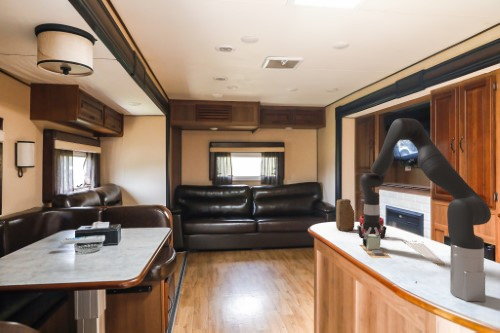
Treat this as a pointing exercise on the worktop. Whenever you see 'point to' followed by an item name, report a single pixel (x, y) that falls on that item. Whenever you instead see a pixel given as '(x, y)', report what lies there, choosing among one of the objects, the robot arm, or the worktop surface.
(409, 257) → the worktop surface
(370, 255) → the oak board
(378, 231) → the plant pot
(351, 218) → the block
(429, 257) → the baseboard
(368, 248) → the block
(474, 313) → the worktop surface
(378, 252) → the gray square tile
